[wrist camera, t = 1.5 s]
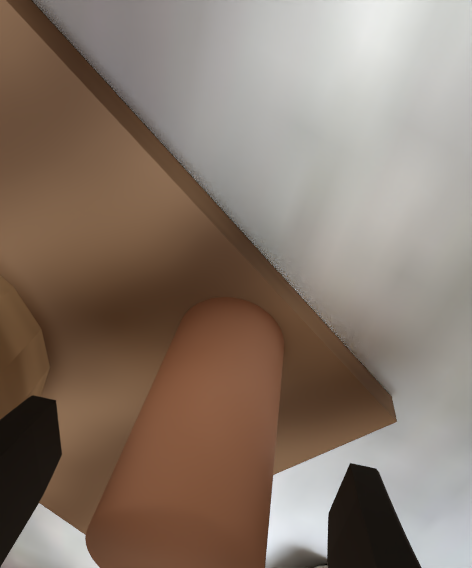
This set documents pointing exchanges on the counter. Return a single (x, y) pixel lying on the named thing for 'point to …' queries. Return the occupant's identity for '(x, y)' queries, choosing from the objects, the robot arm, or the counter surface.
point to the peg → (199, 449)
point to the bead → (19, 351)
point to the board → (135, 269)
